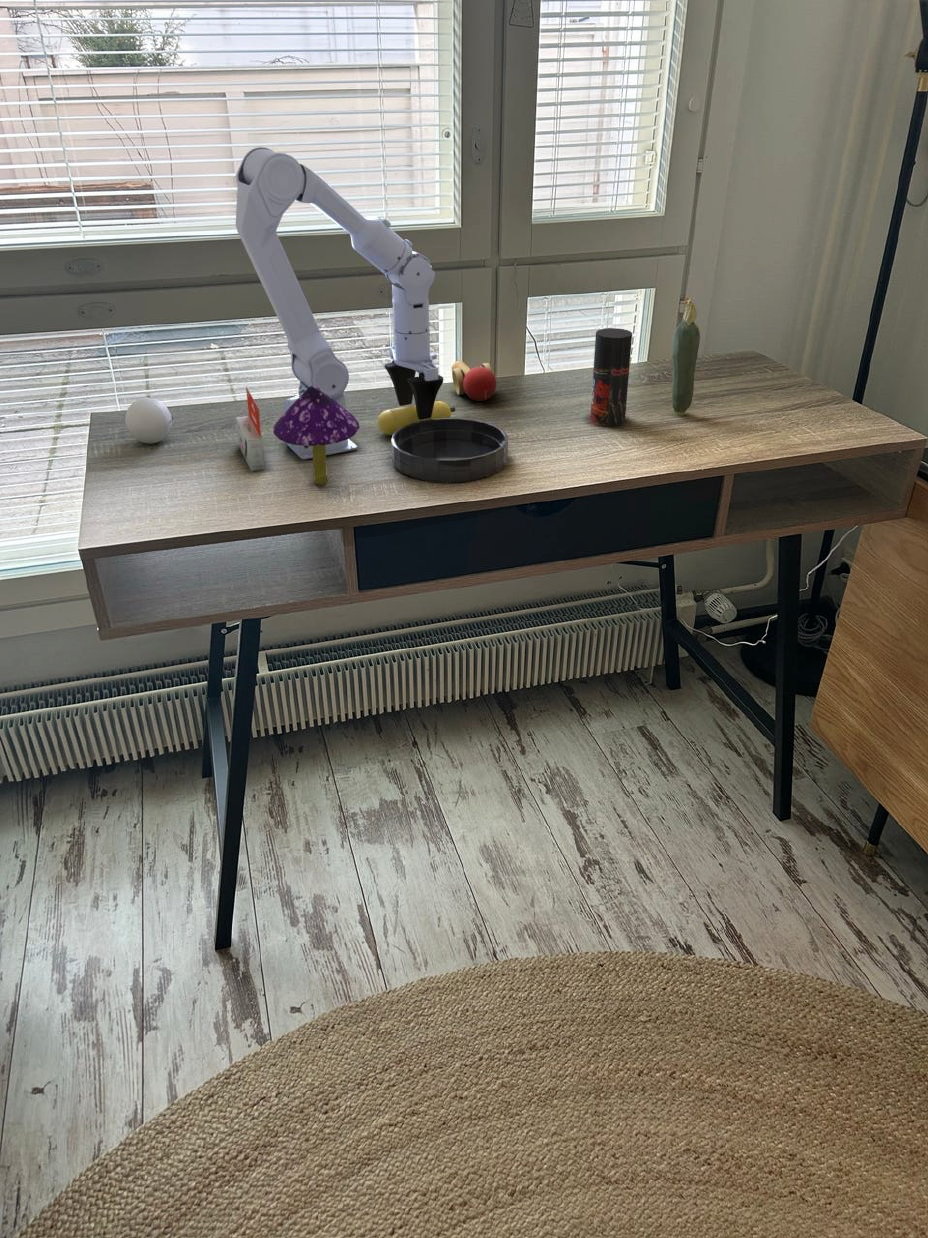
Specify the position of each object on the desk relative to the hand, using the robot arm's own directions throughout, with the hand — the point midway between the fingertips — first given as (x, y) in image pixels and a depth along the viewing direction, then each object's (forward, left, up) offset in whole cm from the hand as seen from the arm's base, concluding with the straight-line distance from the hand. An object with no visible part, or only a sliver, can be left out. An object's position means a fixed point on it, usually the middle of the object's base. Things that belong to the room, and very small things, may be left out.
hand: (414, 411), depth 160 cm
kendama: (+18, +14, -3) cm, 23 cm away
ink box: (-28, +1, -3) cm, 28 cm away
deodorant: (+31, -12, -3) cm, 33 cm away
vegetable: (+43, -16, -3) cm, 46 cm away
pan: (-1, -15, -3) cm, 15 cm away
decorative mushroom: (-22, -14, -3) cm, 26 cm away
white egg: (-40, +17, -3) cm, 44 cm away
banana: (0, 0, -3) cm, 3 cm away
